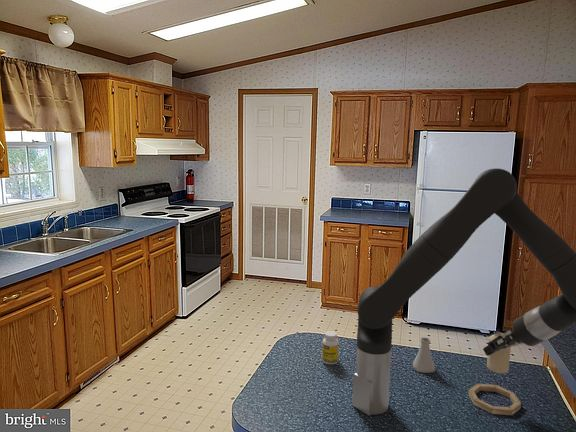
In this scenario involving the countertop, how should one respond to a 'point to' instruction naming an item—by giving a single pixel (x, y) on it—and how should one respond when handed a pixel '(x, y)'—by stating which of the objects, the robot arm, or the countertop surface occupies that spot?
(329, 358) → the supplement bottle
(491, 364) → the candle
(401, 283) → the robot arm
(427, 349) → the flask
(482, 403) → the maple ring
